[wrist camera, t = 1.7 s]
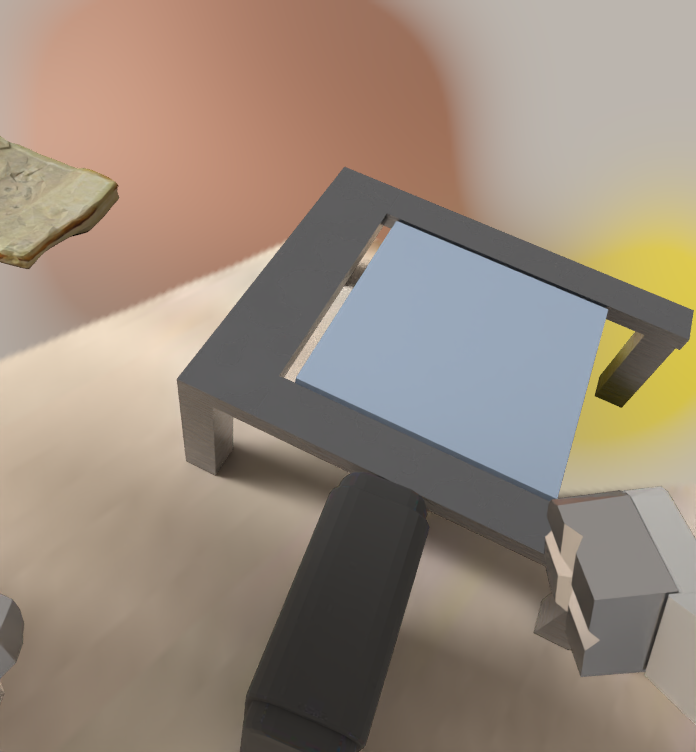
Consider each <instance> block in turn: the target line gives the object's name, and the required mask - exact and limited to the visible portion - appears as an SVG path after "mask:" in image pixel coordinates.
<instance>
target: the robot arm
mask: <svg viewBox="0 0 696 752" xmlns="http://www.w3.org/2000/svg"><path fill="white" fill-rule="evenodd" d="M547 519H548V522H549V524H550V527H551V530H552V531H551V532H550V533H549V534H548V535H547V536H546V537H545V547H544V555H545V564H546V571H547V576H548V580H549V584H550V587H551V590H552V593H553V597H554V600H555V602H556V603H557V604H558V605H560V606H561V607H562V608H563V609H564V610H566V611H567V619H566V627H565V633H566V636H567V638H568V641H569V644H570V647H571V650H572V653H573V656H574V659H575V662H576V665H577V667H578V670H579V673H580V676H581V677H586V676H598V675H611V674H623V673H636V672H645V676H646V677H647V678H648V679H649V680H650V681H651V682H652V683H653V684H654V685H655V686H656V687H657V688H658V689H659V690H660V691H661V692H662V693H663V694H664V695H665V696H666V697H667V698H668V699H669V700H670V701H671V702H672V703H673V704H674V705H675V706H676V707H677V708H678V709H679V710H680V711H681V712H682V713H683V714H685V715H686V716H687V717H688V718H689V719H690V720H691V721H692V722H693V723H694V724H695V725H696V538H695V537H694V535H693V533H692V532H691V530H690V528H689V526H688V525H687V523H686V521H685V520H684V518H683V516H682V515H681V513H680V511H679V509H678V508H677V506H676V504H675V503H674V501H673V499H672V498H671V496H670V494H669V492H668V491H666V490H665V489H664V488H663V487H661V486H659V487H650V488H641V489H633V490H625V491H620V490H618V491H611V492H603V493H596V494H588V495H581V496H573V497H566V498H559V499H551V501H550V502H549V504H548V511H547ZM23 631H24V621H23V618H22V615H21V611H20V609H19V607H18V606H17V605H16V603H15V602H14V601H13V599H11V598H8V597H6V596H4V595H2V594H0V678H1V677H2V676H3V675H4V674H5V673H6V672H7V671H8V670H9V669H10V668H11V667H12V666H13V665H14V664H15V663H16V661H17V658H18V656H19V653H20V650H21V647H22V644H23ZM3 696H4V690H3V687H2V684H1V680H0V704H1V701H2V699H3Z"/></svg>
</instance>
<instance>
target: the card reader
mask: <svg viewBox="0 0 696 752" xmlns="http://www.w3.org/2000/svg"><path fill="white" fill-rule="evenodd" d="M426 515H427V507H426V504H425V501H424V500H423V499H422V498H421V497H420V496H419V495H418V494H417V493H416V492H415V491H413V490H412V489H409V488H406V487H404V486H401V485H399V484H396V483H394V482H391V481H389V480H386V479H384V478H381V477H378V476H376V475H373V474H371V473H366V472H354V473H351V474H349V475H347V476H346V477H345V478H344V479H343V480H342V481H341V483H340V485H339V487H336V488H334V489H333V490H332V491H331V492H330V494H329V496H328V499H327V501H326V503H325V506H324V508H323V511H322V513H321V516H320V518H319V520H318V523H317V525H316V528H315V530H314V532H313V535H312V537H311V540H310V542H309V545H308V547H307V549H306V552H305V554H304V557H303V559H302V562H301V564H300V566H299V569H298V571H297V574H296V576H295V578H294V581H293V583H292V586H291V588H290V591H289V593H288V595H287V598H286V600H285V603H284V605H283V607H282V610H281V612H280V615H279V617H278V620H277V622H276V624H275V627H274V629H273V632H272V634H271V637H270V639H269V641H268V644H267V646H266V649H265V651H264V653H263V656H262V658H261V661H260V663H259V666H258V668H257V670H256V673H255V675H254V678H253V680H252V682H251V685H250V687H249V690H248V692H247V695H246V702H245V714H244V721H243V729H242V738H241V747H240V752H358V751H360V750H361V749H363V748H364V747H365V745H366V741H367V738H368V735H369V731H370V728H371V725H372V721H373V718H374V714H375V711H376V708H377V704H378V701H379V697H380V694H381V691H382V687H383V684H384V680H385V677H386V674H387V670H388V667H389V663H390V660H391V657H392V653H393V650H394V647H395V643H396V640H397V636H398V633H399V630H400V626H401V623H402V619H403V616H404V613H405V609H406V606H407V602H408V599H409V596H410V592H411V589H412V586H413V582H414V579H415V575H416V572H417V569H418V565H419V562H420V558H421V555H422V552H423V548H424V545H425V541H426V538H427V535H428V531H429V525H428V523H427V521H426Z"/></svg>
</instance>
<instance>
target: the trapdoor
mask: <svg viewBox="0 0 696 752" xmlns="http://www.w3.org/2000/svg"><path fill="white" fill-rule="evenodd" d="M607 312H608V309H606V308H603V307H601V306H599V305H596V304H594V303H591V302H589V301H587V300H584V299H582V298H580V297H577V296H575V295H572V294H570V293H568V292H565V291H563V290H560V289H558V288H556V287H553V286H551V285H549V284H546V283H544V282H541V281H539V280H537V279H534V278H532V277H529V276H527V275H525V274H522V273H520V272H517V271H515V270H513V269H510V268H508V267H506V266H503V265H501V264H498V263H496V262H494V261H491V260H489V259H486V258H484V257H482V256H479V255H477V254H474V253H472V252H470V251H467V250H465V249H463V248H460V247H458V246H455V245H453V244H451V243H448V242H446V241H443V240H441V239H439V238H436V237H434V236H431V235H429V234H427V233H424V232H422V231H420V230H417V229H415V228H412V227H410V226H408V225H405V224H403V223H400V222H398V221H396V222H395V224H394V226H393V227H392V229H391V230H390V232H389V233H388V235H387V237H386V238H385V240H384V241H383V243H382V244H381V246H380V247H379V249H378V251H377V252H376V254H375V255H374V257H373V258H372V260H371V261H370V263H369V265H368V266H367V268H366V269H365V271H364V272H363V274H362V276H361V277H360V279H359V280H358V282H357V283H356V285H355V286H354V288H353V290H352V291H351V293H350V294H349V296H348V297H347V299H346V300H345V302H344V304H343V305H342V307H341V308H340V310H339V311H338V313H337V315H336V316H335V318H334V319H333V321H332V322H331V324H330V325H329V327H328V329H327V330H326V332H325V333H324V335H323V336H322V338H321V340H320V341H319V343H318V344H317V346H316V347H315V349H314V350H313V352H312V354H311V355H310V357H309V358H308V360H307V361H306V363H305V365H304V366H303V368H302V369H301V371H300V372H299V374H298V375H297V377H296V381H295V383H296V384H298V385H300V386H303V387H305V388H307V389H309V390H311V391H313V392H315V393H318V394H320V395H322V396H324V397H326V398H328V399H331V400H333V401H335V402H337V403H339V404H341V405H343V406H346V407H348V408H350V409H352V410H354V411H356V412H359V413H361V414H363V415H365V416H367V417H369V418H371V419H374V420H376V421H378V422H380V423H382V424H384V425H386V426H389V427H391V428H393V429H395V430H397V431H399V432H402V433H404V434H406V435H408V436H410V437H412V438H414V439H417V440H419V441H421V442H423V443H425V444H427V445H430V446H432V447H434V448H436V449H438V450H440V451H442V452H445V453H447V454H449V455H451V456H453V457H455V458H458V459H460V460H462V461H464V462H466V463H468V464H470V465H473V466H475V467H477V468H479V469H481V470H483V471H485V472H488V473H490V474H492V475H494V476H496V477H498V478H501V479H503V480H505V481H507V482H509V483H511V484H513V485H516V486H518V487H520V488H522V489H524V490H526V491H529V492H531V493H533V494H535V495H537V496H539V497H541V498H544V499H546V500H548V501H551V499H557V498H558V494H559V491H560V487H561V483H562V480H563V476H564V472H565V468H566V465H567V461H568V457H569V453H570V450H571V446H572V442H573V439H574V435H575V431H576V428H577V423H578V420H579V416H580V413H581V409H582V405H583V401H584V398H585V394H586V390H587V386H588V383H589V379H590V375H591V371H592V368H593V364H594V360H595V357H596V353H597V349H598V346H599V342H600V338H601V334H602V331H603V327H604V323H605V320H606V316H607Z"/></svg>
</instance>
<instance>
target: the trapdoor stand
mask: <svg viewBox="0 0 696 752" xmlns="http://www.w3.org/2000/svg"><path fill="white" fill-rule="evenodd" d="M396 221H398V222H400V223H403V224H405V225H408V226H410V227H412V228H415V229H417V230H420V231H422V232H424V233H427V234H429V235H431V236H434V237H436V238H439V239H441V240H443V241H446V242H448V243H451V244H453V245H455V246H458V247H460V248H463V249H465V250H467V251H470V252H472V253H474V254H477V255H479V256H482V257H484V258H486V259H489V260H491V261H494V262H496V263H498V264H501V265H503V266H506V267H508V268H510V269H513V270H515V271H517V272H520V273H522V274H525V275H527V276H529V277H532V278H534V279H537V280H539V281H541V282H544V283H546V284H549V285H551V286H553V287H556V288H558V289H560V290H563V291H565V292H568V293H570V294H572V295H575V296H577V297H580V298H582V299H584V300H587V301H589V302H591V303H594V304H596V305H599V306H601V307H603V308H606V309H608V312H607V316H606V319H607V320H610V321H612V322H615V323H617V324H619V325H622V326H624V327H627V328H629V329H631V330H633V331H635V333H634V334H633V335H632V336H631V338H630V339H629V340H628V341H627V343H626V344H625V345H624V346H623V348H622V349H621V350H620V351H619V353H618V354H617V355H616V357H615V358H614V359H613V360H612V362H611V363H610V364H609V365H608V366H607V368H606V369H605V370H604V371H603V373H602V374H601V375H600V377H599V381H598V385H597V389H596V393H595V396H596V397H598V398H601V399H603V400H605V401H608V402H610V403H612V404H614V405H617V406H619V407H623V406H624V405H625V403H626V402H627V401H628V400H629V399H630V398H631V397H632V396H633V394H634V393H635V392H636V391H637V390H638V389H639V388H640V387H641V386H642V385H643V384H644V383H645V381H646V380H647V379H648V378H649V377H650V376H651V375H652V374H653V373H654V371H655V370H656V369H657V368H658V367H659V366H660V365H661V364H662V363H663V362H664V360H665V359H666V358H667V357H668V356H669V355H670V354H671V353H672V352H673V351H674V349H675V348H677V349H679V350H680V349H681V348H682V347H683V346H684V345H685V344H686V343H687V342H688V340H689V338H690V331H691V324H692V318H693V311H694V310H691V309H688V308H686V307H684V306H682V305H679V304H677V303H674V302H672V301H669V300H667V299H665V298H662V297H660V296H657V295H655V294H652V293H650V292H647V291H645V290H643V289H640V288H638V287H635V286H633V285H631V284H628V283H626V282H623V281H621V280H618V279H616V278H613V277H611V276H609V275H606V274H604V273H601V272H599V271H596V270H594V269H592V268H589V267H586V266H584V265H582V264H579V263H577V262H575V261H572V260H570V259H567V258H565V257H563V256H560V255H557V254H555V253H553V252H550V251H548V250H546V249H543V248H541V247H538V246H536V245H533V244H531V243H529V242H526V241H524V240H521V239H519V238H516V237H514V236H512V235H509V234H507V233H504V232H502V231H499V230H497V229H494V228H492V227H489V226H487V225H485V224H482V223H480V222H478V221H475V220H472V219H470V218H467V217H465V216H463V215H460V214H458V213H456V212H453V211H451V210H448V209H446V208H444V207H441V206H439V205H436V204H434V203H431V202H429V201H426V200H424V199H422V198H419V197H417V196H414V195H412V194H409V193H407V192H405V191H402V190H400V189H397V188H395V187H392V186H390V185H388V184H385V183H383V182H380V181H378V180H375V179H373V178H370V177H368V176H366V175H363V174H361V173H358V172H356V171H354V170H351V169H349V168H346V167H344V168H343V170H342V171H341V172H340V173H339V174H338V176H337V177H336V178H335V180H334V181H333V182H332V183H331V185H330V186H329V187H328V188H327V190H326V191H325V192H324V194H323V195H322V196H321V197H320V199H319V200H318V201H317V202H316V204H315V205H314V206H313V208H312V209H311V210H310V211H309V213H308V214H307V215H306V216H305V217H304V219H303V220H302V221H301V223H300V224H299V225H298V226H297V228H296V229H295V230H294V231H293V233H292V234H291V235H290V236H289V238H288V239H287V240H286V242H285V243H284V244H283V245H282V247H281V248H280V249H279V250H278V252H277V253H276V254H275V255H274V257H273V258H272V259H271V261H270V262H269V263H268V264H267V266H266V267H265V268H264V269H263V271H262V272H261V273H260V274H259V276H258V277H257V278H256V280H255V281H254V282H253V283H252V285H251V286H250V287H249V288H248V290H247V291H246V292H245V293H244V295H243V296H242V297H241V299H240V300H239V301H238V302H237V304H236V305H235V306H234V307H233V309H232V310H231V311H230V312H229V314H228V315H227V316H226V318H225V319H224V320H223V321H222V323H221V324H220V325H219V326H218V328H217V329H216V330H215V331H214V333H213V334H212V335H211V337H210V338H209V339H208V340H207V342H206V343H205V344H204V345H203V347H202V348H201V349H200V350H199V352H198V353H197V354H196V356H195V357H194V358H193V359H192V361H191V362H190V363H189V364H188V366H187V367H186V368H185V369H184V371H183V372H182V373H181V375H180V376H179V377H178V378H177V385H178V394H179V402H180V411H181V420H182V429H183V438H184V447H185V456H186V461H187V462H189V463H191V464H193V465H195V466H197V467H199V468H201V469H203V470H205V471H207V472H209V473H211V474H213V475H215V476H216V474H217V473H218V471H219V470H220V468H221V467H222V465H223V463H224V462H225V460H226V459H227V457H228V456H229V454H230V453H231V451H232V450H233V417H234V418H237V419H239V420H241V421H243V422H245V423H247V424H249V425H251V426H253V427H255V428H257V429H260V430H262V431H264V432H266V433H268V434H270V435H272V436H274V437H276V438H278V439H280V440H283V441H285V442H287V443H289V444H291V445H293V446H295V447H297V448H299V449H301V450H303V451H305V452H308V453H310V454H312V455H314V456H316V457H318V458H320V459H322V460H324V461H326V462H328V463H331V464H333V465H335V466H337V467H339V468H341V469H343V470H345V471H347V472H349V473H354V472H366V473H371V474H373V475H376V476H378V477H381V478H384V479H386V480H389V481H391V482H394V483H396V484H399V485H401V486H404V487H406V488H409V489H412V490H413V491H415V492H416V493H417V494H418V495H419V496H420V497H421V498H422V499H423V500H424V501H425V504H426V507H427V510H429V511H431V512H433V513H435V514H437V515H439V516H441V517H443V518H445V519H447V520H450V521H452V522H454V523H456V524H458V525H460V526H462V527H464V528H466V529H468V530H470V531H473V532H475V533H477V534H479V535H481V536H483V537H485V538H487V539H489V540H491V541H493V542H495V543H498V544H500V545H502V546H504V547H506V548H508V549H510V550H512V551H514V552H516V553H518V554H521V555H523V556H525V557H527V558H529V559H531V560H533V561H535V562H537V563H539V564H541V565H544V566H546V564H545V555H544V547H545V537H546V536H547V535H548V534H549V533H550V532H551V531H552V530H551V527H550V524H549V522H548V519H547V511H548V504H549V502H550V501H548V500H546V499H544V498H541V497H539V496H537V495H535V494H533V493H531V492H529V491H526V490H524V489H522V488H520V487H518V486H516V485H513V484H511V483H509V482H507V481H505V480H503V479H501V478H498V477H496V476H494V475H492V474H490V473H488V472H485V471H483V470H481V469H479V468H477V467H475V466H473V465H470V464H468V463H466V462H464V461H462V460H460V459H458V458H455V457H453V456H451V455H449V454H447V453H445V452H442V451H440V450H438V449H436V448H434V447H432V446H430V445H427V444H425V443H423V442H421V441H419V440H417V439H414V438H412V437H410V436H408V435H406V434H404V433H402V432H399V431H397V430H395V429H393V428H391V427H389V426H386V425H384V424H382V423H380V422H378V421H376V420H374V419H371V418H369V417H367V416H365V415H363V414H361V413H359V412H356V411H354V410H352V409H350V408H348V407H346V406H343V405H341V404H339V403H337V402H335V401H333V400H331V399H328V398H326V397H324V396H322V395H320V394H318V393H315V392H313V391H311V390H309V389H307V388H305V387H303V386H300V385H298V384H296V383H294V382H292V381H290V380H288V379H285V378H284V377H285V375H286V374H287V372H288V371H289V369H290V367H291V366H292V364H293V363H294V361H295V360H296V358H297V357H298V355H299V354H300V352H301V351H302V349H303V348H304V346H305V345H306V343H307V342H308V340H309V339H310V337H311V335H312V334H313V332H314V331H315V329H316V328H317V326H318V325H319V323H320V322H321V320H322V319H323V317H324V316H325V314H326V313H327V311H328V310H329V308H330V306H331V305H332V303H333V302H334V300H335V299H336V297H337V296H338V294H339V293H340V291H341V290H342V288H343V287H344V285H345V284H346V282H347V281H348V279H349V278H350V276H351V274H352V273H353V271H354V270H355V268H356V267H357V265H358V264H359V262H360V261H361V259H362V258H363V256H364V255H365V253H366V252H367V250H368V249H369V247H370V246H371V244H372V242H373V241H374V239H375V238H376V236H377V235H378V233H379V232H380V230H381V229H382V227H383V226H387V227H389V228H391V229H392V227H393V226H394V224H395V222H396ZM566 619H567V611H566V610H564V609H563V608H562V607H561V606H560V605H558V604H557V603H556V602H555V600H554V597H553V593H551V594H549V595H548V596H547V597H545V598H544V599H543V600H542V603H541V607H540V611H539V615H538V619H537V622H536V626H535V630H534V633H535V634H537V635H539V636H541V637H543V638H545V639H547V640H549V641H551V642H553V643H555V644H557V645H559V646H561V647H563V648H565V649H568V650H569V649H571V647H570V644H569V641H568V638H567V636H566V633H565V627H566Z"/></svg>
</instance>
